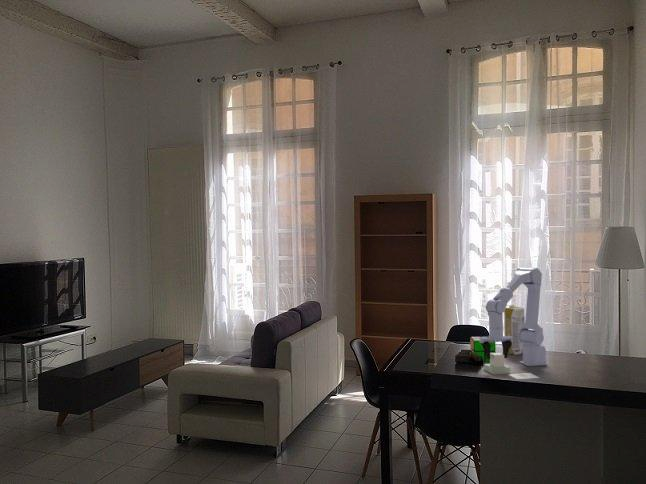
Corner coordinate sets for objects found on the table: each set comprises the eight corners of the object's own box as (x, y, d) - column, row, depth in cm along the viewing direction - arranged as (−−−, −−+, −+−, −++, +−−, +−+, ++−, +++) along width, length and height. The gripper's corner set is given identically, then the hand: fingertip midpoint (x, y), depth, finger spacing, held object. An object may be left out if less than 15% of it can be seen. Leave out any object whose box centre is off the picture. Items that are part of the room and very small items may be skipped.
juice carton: (514, 350, 273) (513, 303, 273) (527, 353, 267) (526, 305, 266) (502, 353, 268) (501, 305, 268) (515, 355, 262) (514, 306, 261)
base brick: (501, 369, 237) (501, 363, 237) (510, 374, 229) (509, 367, 229) (484, 370, 236) (484, 364, 236) (492, 375, 228) (492, 368, 228)
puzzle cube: (491, 357, 260) (491, 336, 260) (496, 361, 250) (495, 340, 250) (470, 357, 261) (470, 336, 261) (474, 361, 251) (473, 340, 251)
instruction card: (529, 373, 228) (529, 372, 228) (540, 377, 220) (540, 377, 220) (507, 374, 227) (507, 374, 227) (517, 379, 219) (517, 378, 219)
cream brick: (499, 363, 235) (499, 352, 235) (504, 366, 231) (504, 354, 231) (490, 364, 235) (489, 353, 235) (494, 366, 230) (494, 355, 230)
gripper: (507, 325, 237) (508, 355, 237) (476, 326, 235) (476, 357, 235) (515, 327, 230) (515, 359, 230) (483, 329, 228) (483, 360, 228)
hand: (496, 358), depth 232 cm, fingers open, 7 cm apart
